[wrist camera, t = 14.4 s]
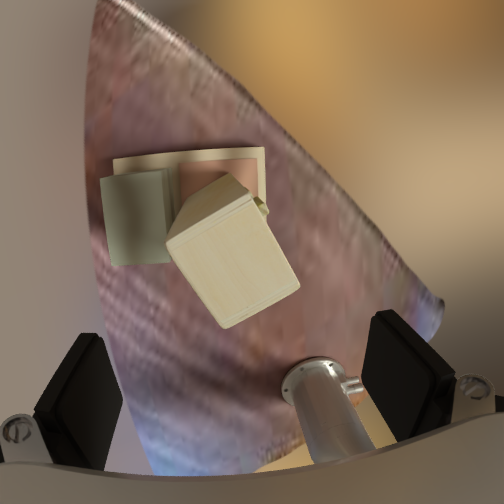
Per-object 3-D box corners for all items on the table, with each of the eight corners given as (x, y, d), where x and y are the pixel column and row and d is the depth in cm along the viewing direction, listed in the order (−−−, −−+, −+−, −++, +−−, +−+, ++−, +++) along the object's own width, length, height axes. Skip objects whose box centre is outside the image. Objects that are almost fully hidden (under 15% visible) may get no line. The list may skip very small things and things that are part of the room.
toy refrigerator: (265, 221, 42) (310, 284, 22) (217, 248, 42) (220, 333, 22) (236, 168, 39) (256, 183, 19) (186, 197, 39) (157, 242, 20)
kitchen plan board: (260, 147, 42) (275, 145, 31) (263, 244, 46) (278, 271, 36) (119, 158, 40) (90, 161, 29) (129, 253, 44) (107, 282, 34)
